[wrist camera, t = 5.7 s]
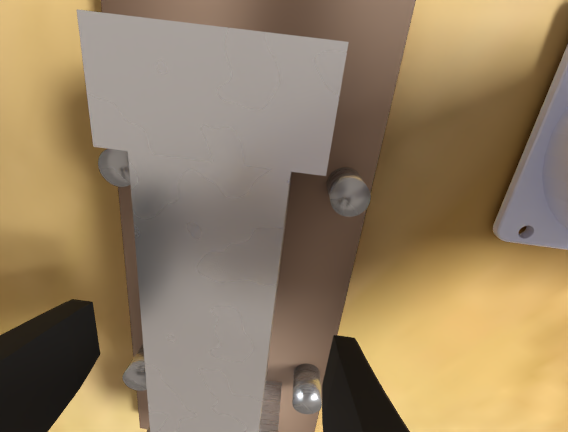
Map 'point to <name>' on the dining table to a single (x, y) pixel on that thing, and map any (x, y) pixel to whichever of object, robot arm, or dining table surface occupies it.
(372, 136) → the board
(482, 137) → the dining table surface
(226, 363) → the gray notched block
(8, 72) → the dining table surface
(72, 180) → the dining table surface
